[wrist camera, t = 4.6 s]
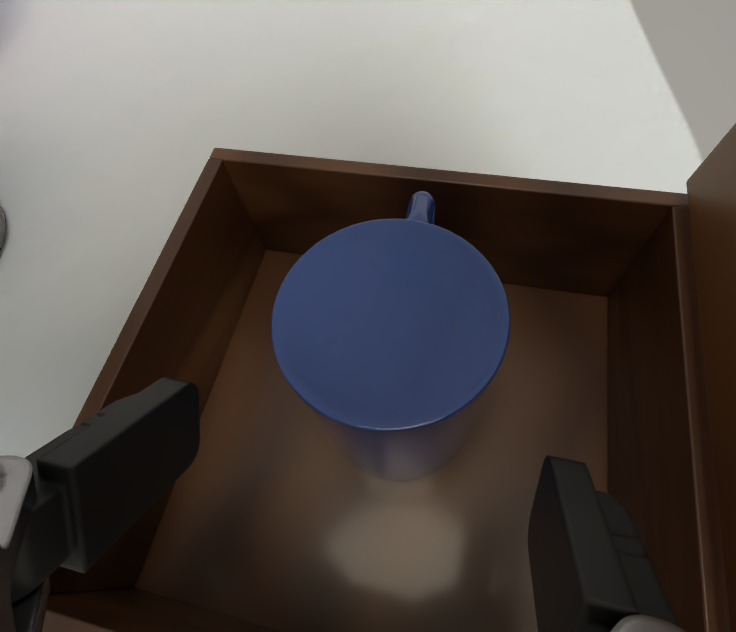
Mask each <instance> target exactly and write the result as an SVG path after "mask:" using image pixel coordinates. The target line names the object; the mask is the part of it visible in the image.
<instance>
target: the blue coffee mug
mask: <svg viewBox="0 0 736 632" xmlns="http://www.w3.org/2000/svg"><path fill="white" fill-rule="evenodd" d="M434 216H435V200H434V198H433V196H432V195H431V194H430V193H428V192H426V191H418V192H416V193H414V194H413V195H412V196H411V198H410V200H409V203H408V207H407V211H406V216H405V219H379V220H372V221H366V222H362V223H358V224H354V225H352V226H349V227H346V228H343V229H341V230H339V231H337V232H335V233H333V234H331V235H329V236H327V237H325V238H324V239H322V240H321V241H319V242H318V243H316V244H315V245H314V246H313V247H311V248H310V249H309V250H307V251H306V252H305V253H304V254H303V255H302V256H301V257H300V258H299V259H298V260H297V262H296V263H295V264H294V265H293V267H292V268H291V269H290V271H289V272H288V274H287V275H286V277H285V279H284V280H283V282H282V284H281V286H280V289H279V291H278V293H277V296H276V300H275V303H274V307H273V312H272V319H271V338H272V345H273V350H274V354H275V357H276V360H277V363H278V365H279V367H280V369H281V372H282V374H283V376H284V377H285V379H286V380H287V382H288V383H289V385H290V386H291V388H292V389H293V390H294V392H295V393H296V395H297V396H298V397H299V398H300V399H301V400H302V401H303V402H304V403H305V404H306V406H308V407H309V408H310V409H311V410H312V411H313V413H314V414H315V416H316V417H317V419H318V420H319V422H320V423H321V425H322V426H323V428H324V429H325V430H326V432H327V433H328V435H329V436H330V438H331V439H332V441H333V442H334V444H335V445H336V447H337V448H338V450H339V451H340V452H341V454H342V455H343V456H344V457H345V458H346V459H347V460H348V461H349V462H350V463H351V464H352V465H354V466H355V467H356V468H358V469H359V470H361V471H362V472H364V473H366V474H369V475H371V476H373V477H376V478H379V479H383V480H389V481H411V480H417V479H420V478H424V477H427V476H429V475H431V474H434V473H435V472H437V471H439V470H440V469H442V468H444V467H445V466H446V465H447V464H449V463H450V462H451V461H452V460H453V459H454V458H455V457H456V456H457V455H458V453H459V452H460V450H461V449H462V448H463V446H464V444H465V442H466V440H467V438H468V436H469V434H470V431H471V429H472V426H473V424H474V421H475V418H476V416H477V413H478V411H479V408H480V406H481V403H482V401H483V398H484V395H485V393H486V390H487V389H488V387H489V386H490V385H491V383H492V382H493V380H494V378H495V376H496V374H497V372H498V370H499V368H500V366H501V364H502V361H503V358H504V355H505V353H506V350H507V347H508V341H509V335H510V311H509V303H508V300H507V296H506V293H505V290H504V287H503V285H502V283H501V281H500V278H499V277H498V275H497V273H496V272H495V270H494V269H493V267H492V265H491V264H490V263H489V262H488V261H487V259H486V258H485V257H484V256H483V255H482V254H481V253H480V252H479V251H478V250H477V249H476V248H475V247H474V246H473V245H471V244H470V243H468V242H467V241H466V240H464V239H463V238H461V237H460V236H458V235H456V234H454V233H452V232H450V231H448V230H446V229H443V228H441V227H439V226H436V225H434Z"/></svg>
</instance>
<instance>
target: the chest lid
mask: <svg viewBox="0 0 736 632" xmlns="http://www.w3.org/2000/svg"><path fill="white" fill-rule="evenodd" d="M686 184H687V194H688V204H689V215H690V225H691V235H692V246H693V256H694V266H695V276H696V287H697V297H698V307H699V318H700V328H701V338H702V348H703V359H704V369H705V379H706V390H707V400H708V410H709V420H710V431H711V441H712V451H713V462H714V472H715V482H716V492H717V503H718V513H719V523H720V534H721V544H722V554H723V564H724V575H725V585H726V595H727V606H728V616H729V626H730V632H736V124H735V125H734V126H733V127H732V128H731V129H730V131H729V132H728V133H727V134H726V135H725V136H724V138H723V139H722V140H721V141H720V143H719V144H718V145H717V146H716V147H715V148H714V150H713V151H712V152H711V153H710V154H709V156H708V157H707V158H706V159H705V160H704V161H703V163H702V164H701V165H700V166H699V167H698V168H697V170H696V171H695V172H694V173H693V174H692V176H691V177H690V178H689V179H688V180H687V183H686Z"/></svg>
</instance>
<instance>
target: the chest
mask: <svg viewBox="0 0 736 632" xmlns="http://www.w3.org/2000/svg"><path fill="white" fill-rule="evenodd" d="M418 191H426V192H428V193H430V194H431V195H432V196H433V198H434V200H435V216H434V225H436V226H439V227H441V228H443V229H446V230H448V231H450V232H452V233H454V234H456V235H458V236H460V237H461V238H463V239H464V240H466V241H467V242H468V243H470V244H471V245H473V246H474V247H475V248H476V249H477V250H478V251H479V252H480V253H481V254H482V255H483V256H484V257H485V258H486V259H487V261H488V262H489V263H490V264H491V265H492V267H493V269H494V270H495V272H496V273H497V275H498V277H499V278H500V281H501V283H502V285H503V287H504V290H505V293H506V296H507V300H508V303H509V311H510V335H509V341H508V347H507V350H506V353H505V355H504V358H503V361H502V364H501V366H500V368H499V370H498V372H497V374H496V376H495V378H494V380H493V382H492V383H491V385H490V386H489V387H488V389H487V390H486V393H485V395H484V398H483V401H482V403H481V406H480V408H479V411H478V413H477V416H476V418H475V421H474V424H473V426H472V429H471V431H470V434H469V436H468V438H467V440H466V442H465V444H464V446H463V448H462V449H461V450H460V452H459V453H458V455H457V456H456V457H455V458H454V459H453V460H452V461H451V462H450V463H449V464H447V465H446V466H445V467H444V468H442V469H440V470H439V471H437V472H435V473H434V474H431V475H429V476H427V477H424V478H420V479H417V480H411V481H389V480H383V479H379V478H376V477H373V476H371V475H369V474H366V473H364V472H362V471H361V470H359V469H358V468H356V467H355V466H354V465H352V464H351V463H350V462H349V461H348V460H347V459H346V458H345V457H344V456H343V455H342V454H341V452H340V451H339V450H338V448H337V447H336V445H335V444H334V442H333V441H332V439H331V438H330V436H329V435H328V433H327V432H326V430H325V429H324V428H323V426H322V425H321V423H320V422H319V420H318V419H317V417H316V416H315V414H314V413H313V411H312V410H311V409H310V408H309V407H308V406H306V404H305V403H304V402H303V401H302V400H301V399H300V398H299V397H298V396H297V395H296V393H295V392H294V390H293V389H292V388H291V386H290V385H289V383H288V382H287V380H286V379H285V377H284V376H283V374H282V372H281V369H280V367H279V365H278V363H277V360H276V357H275V354H274V350H273V345H272V338H271V319H272V312H273V307H274V303H275V300H276V296H277V293H278V291H279V289H280V286H281V284H282V282H283V280H284V279H285V277H286V275H287V274H288V272H289V271H290V269H291V268H292V267H293V265H294V264H295V263H296V262H297V260H298V259H299V258H300V257H301V256H302V255H303V254H304V253H305V252H306V251H307V250H309V249H310V248H311V247H313V246H314V245H315V244H316V243H318V242H319V241H321V240H322V239H324V238H325V237H327V236H329V235H331V234H333V233H335V232H337V231H339V230H341V229H343V228H346V227H349V226H352V225H354V224H358V223H362V222H366V221H372V220H379V219H405V216H406V211H407V207H408V203H409V200H410V198H411V196H412V195H413V194H414V193H416V192H418ZM164 377H166V378H171V379H176V380H181V381H186V382H191V383H195V384H196V385H197V387H198V390H199V410H200V445H199V450H198V453H197V456H196V458H195V460H194V461H193V463H192V464H191V466H190V467H189V468H188V469H187V470H186V471H185V472H184V473H183V474H182V475H181V476H180V477H179V478H178V479H177V480H176V481H175V482H174V483H173V484H172V485H171V486H170V487H169V488H168V489H167V490H166V491H165V492H164V493H163V494H162V495H161V496H160V497H159V498H158V499H157V500H156V501H155V503H154V504H153V505H152V506H151V507H150V508H149V509H148V510H147V511H146V512H145V513H144V514H143V515H142V516H141V517H140V518H139V519H138V520H137V521H136V522H135V523H134V524H133V525H132V526H131V527H130V528H129V529H128V530H127V531H126V532H125V533H124V534H123V535H122V536H121V537H120V538H119V539H118V540H117V541H116V542H115V543H114V544H113V545H112V546H111V547H110V548H109V549H108V550H107V551H106V552H105V553H104V554H103V555H102V556H101V557H100V558H99V559H98V560H97V561H96V562H95V563H94V564H93V565H92V566H91V567H90V568H89V569H88V570H87V572H86V573H85V574H84V573H80V572H77V571H74V570H70V569H67V568H64V567H60V566H59V567H58V568H57V569H56V570H55V571H54V572H53V573H52V574H51V575H50V576H49V578H50V585H51V587H50V594H49V599H48V604H47V609H46V614H45V619H44V624H43V629H42V632H538V627H537V619H536V611H535V602H534V594H533V586H532V578H531V570H530V561H529V553H528V526H529V519H530V514H531V510H532V506H533V502H534V498H535V493H536V489H537V485H538V481H539V477H540V473H541V469H542V465H543V462H544V459H545V457H546V456H547V455H549V456H554V457H559V458H564V459H569V460H574V461H579V462H584V463H586V465H587V467H588V469H589V472H590V475H591V478H592V481H593V483H594V486H595V489H596V491H601V492H606V493H611V494H612V495H613V496H614V497H615V498H616V499H617V500H618V501H619V502H620V503H621V504H622V505H623V506H624V507H625V508H626V510H627V511H628V512H629V513H630V514H631V516H632V518H633V520H634V523H635V525H636V527H637V530H638V532H639V534H640V539H641V540H642V541H643V543H644V546H645V548H646V550H647V553H648V558H650V560H651V562H652V564H653V566H654V569H655V571H656V573H657V576H658V578H659V580H660V583H661V585H662V587H663V589H664V592H665V594H666V596H667V599H668V601H669V603H670V606H671V608H672V610H673V613H674V615H675V617H676V619H677V622H678V624H679V626H680V628H681V629H683V630H684V631H686V632H730V626H729V616H728V606H727V595H726V585H725V575H724V564H723V554H722V544H721V534H720V523H719V513H718V503H717V492H716V482H715V472H714V462H713V451H712V441H711V431H710V420H709V410H708V400H707V390H706V379H705V369H704V359H703V348H702V338H701V328H700V318H699V307H698V297H697V287H696V276H695V266H694V256H693V246H692V235H691V225H690V215H689V204H688V194H682V193H671V192H661V191H651V190H641V189H631V188H620V187H610V186H600V185H590V184H580V183H569V182H559V181H549V180H539V179H529V178H518V177H508V176H498V175H488V174H478V173H467V172H457V171H447V170H437V169H427V168H416V167H406V166H396V165H386V164H376V163H365V162H355V161H345V160H335V159H325V158H314V157H304V156H294V155H284V154H274V153H263V152H253V151H243V150H233V149H223V148H214V150H213V152H212V154H211V156H210V159H208V161H207V163H206V165H205V167H204V169H203V171H202V173H201V175H200V177H199V179H198V181H197V183H196V185H195V187H194V189H193V191H192V193H191V195H190V197H189V199H188V201H187V203H186V205H185V207H184V209H183V211H182V213H181V215H180V217H179V219H178V221H177V223H176V225H175V227H174V228H173V230H172V232H171V234H170V236H169V238H168V240H167V242H166V244H165V246H164V248H163V250H162V252H161V254H160V256H159V258H158V260H157V262H156V264H155V266H154V268H153V270H152V272H151V274H150V276H149V278H148V280H147V282H146V284H145V286H144V288H143V290H142V292H141V294H140V296H139V298H138V300H137V301H136V303H135V305H134V307H133V309H132V311H131V313H130V315H129V317H128V319H127V321H126V323H125V325H124V327H123V329H122V331H121V333H120V335H119V337H118V339H117V341H116V343H115V345H114V347H113V349H112V351H111V353H110V355H109V357H108V359H107V361H106V363H105V365H104V367H103V369H102V371H101V372H100V374H99V376H98V378H97V380H96V382H95V384H94V386H93V388H92V390H91V392H90V394H89V396H88V398H87V400H86V402H85V404H84V406H83V408H82V410H81V412H80V414H79V416H78V418H77V420H76V422H75V424H74V426H73V427H75V426H76V425H81V422H82V421H84V420H86V419H87V418H89V417H90V416H92V415H96V414H97V412H98V411H100V410H102V409H103V408H105V407H106V406H108V405H110V404H111V403H113V402H114V401H117V400H120V399H122V398H125V397H128V396H131V395H134V394H136V393H139V392H141V391H142V390H144V389H145V388H147V387H148V386H150V385H151V384H153V383H155V382H156V381H158V380H159V379H161V378H164Z"/></svg>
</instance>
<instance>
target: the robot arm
mask: <svg viewBox="0 0 736 632" xmlns="http://www.w3.org/2000/svg"><path fill="white" fill-rule="evenodd" d="M5 229H6V225H5V217H4V214H3V211H2V209H1V207H0V249H1V246H2V243H3V240H4V236H5ZM199 445H200V410H199V390H198V387H197V385H196V384H195V383H191V382H186V381H181V380H176V379H171V378H166V377H164V378H161V379H159V380H158V381H156V382H155V383H153V384H151V385H150V386H148V387H147V388H145V389H144V390H142V391H141V392H139V393H136V394H134V395H131V396H128V397H125V398H122V399H120V400H117V401H114V402H113V403H111V404H110V405H108V406H106V407H105V408H103V409H102V410H100V411H98V412H97V414H96V415H92V416H90V417H89V418H87V419H86V420H84V421H82V422H81V425H76V426H75V427H73V428H71V429H70V430H68V431H67V432H65V433H63V434H62V435H60V436H59V437H57V438H55V439H54V440H52V441H51V442H49V443H48V444H46V445H44V446H43V447H41V448H40V449H38V450H36V451H35V452H33V453H32V454H30V455H28V456H27V457H25V458H22V457H18V456H0V632H42V629H43V624H44V619H45V614H46V609H47V604H48V599H49V594H50V587H51V585H50V578H49V576H50V575H51V574H52V573H53V572H54V571H55V570H56V569H57V568H58V567H59V566H60V567H64V568H67V569H70V570H74V571H77V572H80V573H84V574H85V573H86V572H87V570H88V569H89V568H90V567H91V566H92V565H93V564H94V563H95V562H96V561H97V560H98V559H99V558H100V557H101V556H102V555H103V554H104V553H105V552H106V551H107V550H108V549H109V548H110V547H111V546H112V545H113V544H114V543H115V542H116V541H117V540H118V539H119V538H120V537H121V536H122V535H123V534H124V533H125V532H126V531H127V530H128V529H129V528H130V527H131V526H132V525H133V524H134V523H135V522H136V521H137V520H138V519H139V518H140V517H141V516H142V515H143V514H144V513H145V512H146V511H147V510H148V509H149V508H150V507H151V506H152V505H153V504H154V503H155V501H156V500H157V499H158V498H159V497H160V496H161V495H162V494H163V493H164V492H165V491H166V490H167V489H168V488H169V487H170V486H171V485H172V484H173V483H174V482H175V481H176V480H177V479H178V478H179V477H180V476H181V475H182V474H183V473H184V472H185V471H186V470H187V469H188V468H189V467H190V466H191V464H192V463H193V461H194V460H195V458H196V456H197V453H198V450H199ZM528 553H529V561H530V570H531V578H532V586H533V594H534V602H535V611H536V619H537V627H538V632H686V631H684V630H683V629H681V628H680V626H679V624H678V622H677V619H676V617H675V615H674V613H673V610H672V608H671V606H670V603H669V601H668V599H667V596H666V594H665V592H664V589H663V587H662V585H661V583H660V580H659V578H658V576H657V573H656V571H655V569H654V566H653V564H652V562H651V560H650V558H648V553H647V550H646V548H645V546H644V543H643V541H642V540H641V539H640V534H639V532H638V530H637V527H636V525H635V523H634V520H633V518H632V516H631V514H630V513H629V512H628V511H627V510H626V508H625V507H624V506H623V505H622V504H621V503H620V502H619V501H618V500H617V499H616V498H615V497H614V496H613V495H612V494H611V493H606V492H601V491H596V489H595V486H594V483H593V481H592V478H591V475H590V472H589V469H588V467H587V465H586V463H584V462H579V461H574V460H569V459H564V458H559V457H554V456H549V455H547V456H546V457H545V459H544V462H543V465H542V469H541V473H540V477H539V481H538V485H537V489H536V493H535V498H534V502H533V506H532V510H531V514H530V519H529V526H528Z"/></svg>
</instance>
